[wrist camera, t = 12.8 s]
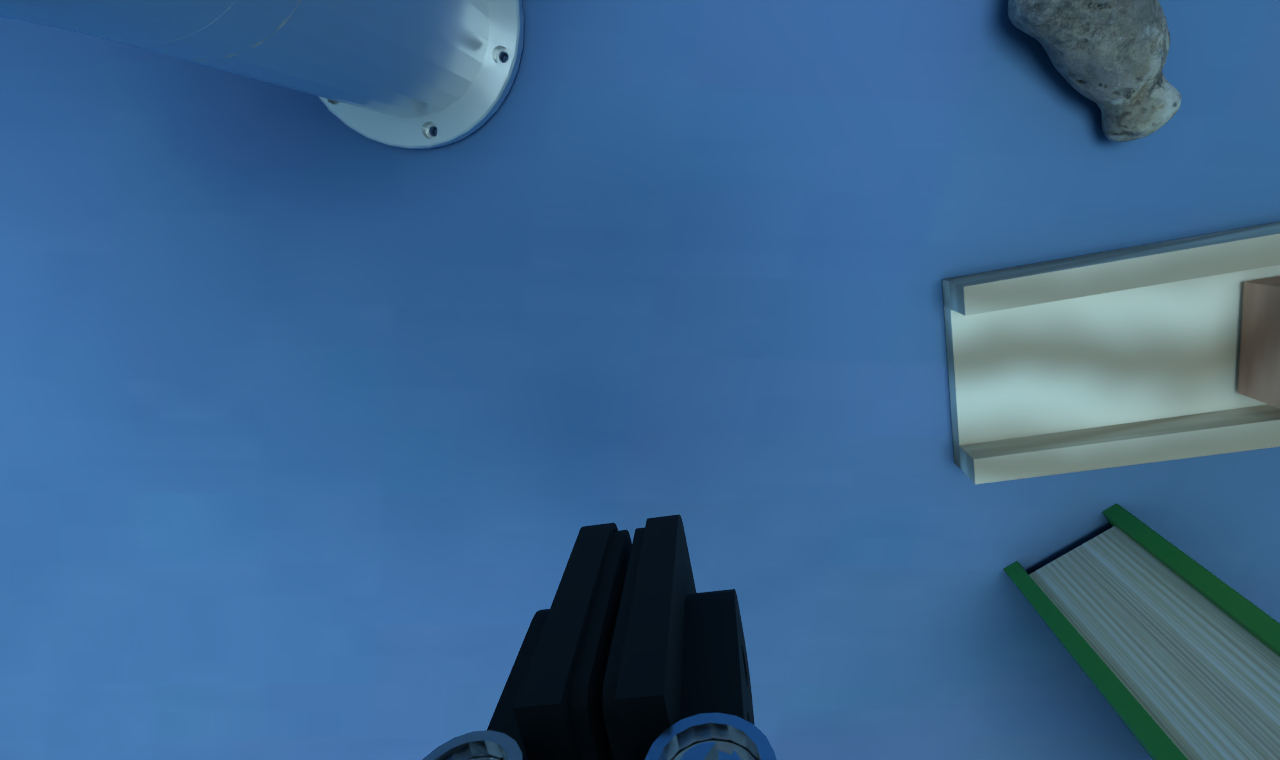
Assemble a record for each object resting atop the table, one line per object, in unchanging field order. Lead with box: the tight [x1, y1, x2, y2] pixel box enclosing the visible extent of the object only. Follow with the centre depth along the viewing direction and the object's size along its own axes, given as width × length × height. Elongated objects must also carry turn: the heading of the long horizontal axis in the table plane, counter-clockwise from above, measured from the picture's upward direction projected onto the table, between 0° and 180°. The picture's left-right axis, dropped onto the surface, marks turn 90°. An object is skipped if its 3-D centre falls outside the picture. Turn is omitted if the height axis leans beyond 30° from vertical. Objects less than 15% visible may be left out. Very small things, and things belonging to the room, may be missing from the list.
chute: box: [942, 222, 1280, 484], centre depth 33 cm, size 11×20×3 cm, turn 101°
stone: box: [1008, 0, 1181, 142], centre depth 29 cm, size 10×5×8 cm
